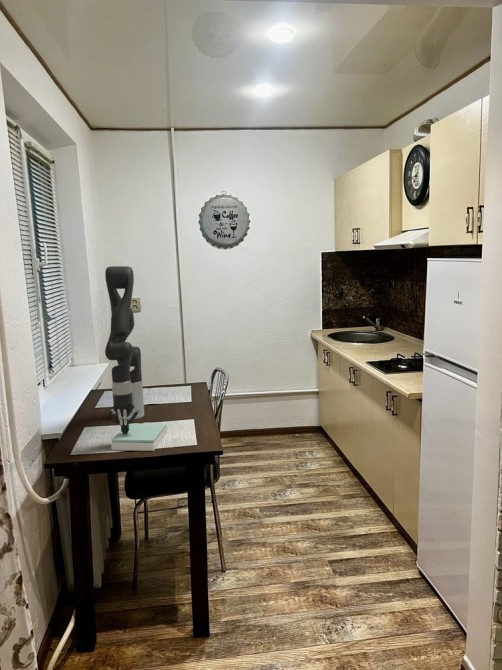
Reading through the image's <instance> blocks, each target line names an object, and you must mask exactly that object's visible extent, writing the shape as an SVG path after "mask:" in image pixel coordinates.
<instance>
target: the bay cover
mask: <svg viewBox="0 0 502 670" xmlns="http://www.w3.org/2000/svg"><path fill="white" fill-rule="evenodd" d="M166 426H167V427H168V425H167V423H131V424H129V432H128V433H127V434H123V432H121V430H120V431H119V432H118V433H117V434H116V435H115V436H114V437H113V438H112V439H111V442H154V441H155V440H156V439H157V437H158V436H159V435H160V434H161V432H162V431H163V430H164V429H165V427H166ZM111 442H110V443H111Z"/></svg>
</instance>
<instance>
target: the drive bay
mask: <svg viewBox="0 0 502 670" xmlns="http://www.w3.org/2000/svg"><path fill="white" fill-rule="evenodd" d="M167 434H168V425H167V426H166V427H165V429H164V430H163V431H162V432H161V434H160V435H159V436H158V437H157V439H156V440H155V441H154V442H110V447H111V451H149V452H151V451H152V452H154V451H155V450H156V449H157V447H158V446H159V445H160V444H161V442H162V441H163V440H164V438H166V437H165V436H166V435H167Z"/></svg>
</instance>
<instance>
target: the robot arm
mask: <svg viewBox="0 0 502 670" xmlns="http://www.w3.org/2000/svg"><path fill="white" fill-rule="evenodd" d="M104 273H105V274H104V275H105V276H104V277H105V279H104V280H105V283H106V289H107V293H108V298H109V301H110V302H109V305H110V310H111V311H110V312H111V315H110V317H111V318H110V332H109V337H108V340H107V343H106V346H105V349H104V353H105V354H104V355H105V357H106V360H108V361H116V362H117V365H115V366H113V367H112V368H111V381H112V385H111V389H112V390H111V392H112V402H113V403H112V404H113V406H112V409H111V410H109V411H108V412H107V414H108V416H109V417H110V418H111V419H112V421H113V422H115V424H117V425H120V431H121V432H123V434H127V433H128V432H129V424H133V422H135V421H134V420H136V419H141V418H143V417H144V416H145V405H144V390H143V389H144V388H143V374H142V351H141V348H140V347H139V346H133V345H132V344H131V342H128V341H126V340H128V337H129V336H130V335H131V333H132V332H133V330H134V327H135V319H134V318H135V317H134V311H133V309H132V308H131V306H132V305H131V304H132V298H133V292H134V291H133V290H134V283H135V278H134V271H133V268H132V267H131V266H128V265H127V266H120V265H119V266H118V265H115V266H114V265H112V266H108V267H106V269H105V272H104ZM118 290H124V292H123V295H122V296H121V295H120V293H119V292H118ZM131 367H134V368H132V369H131Z"/></svg>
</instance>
